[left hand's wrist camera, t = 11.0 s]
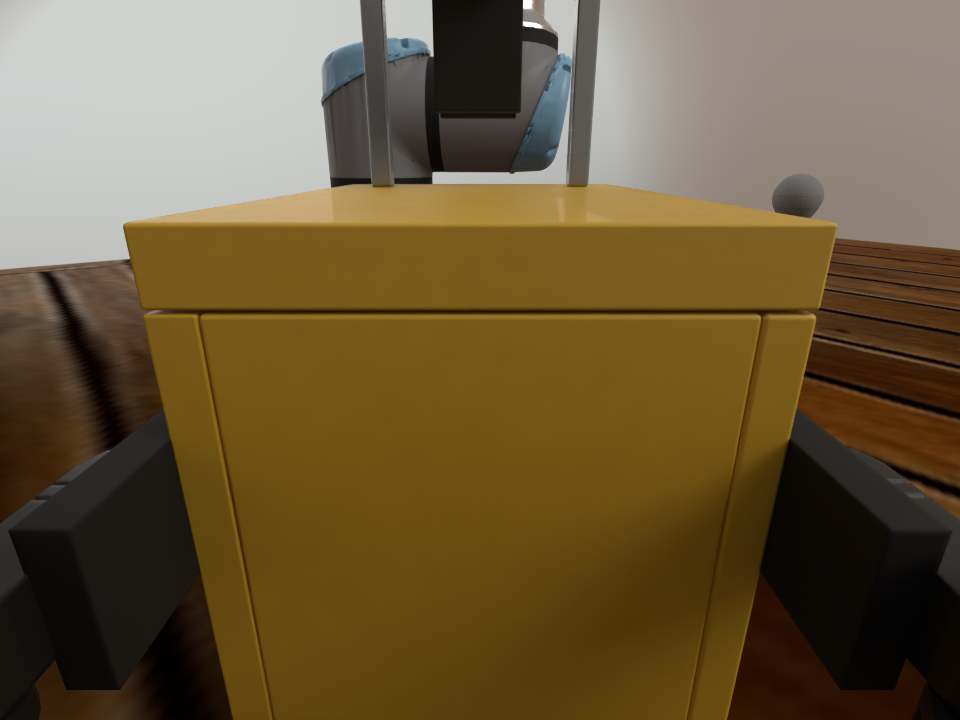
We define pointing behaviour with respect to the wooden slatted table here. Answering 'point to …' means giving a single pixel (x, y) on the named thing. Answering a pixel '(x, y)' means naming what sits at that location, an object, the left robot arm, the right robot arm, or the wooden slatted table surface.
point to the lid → (480, 236)
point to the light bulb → (798, 196)
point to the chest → (479, 504)
